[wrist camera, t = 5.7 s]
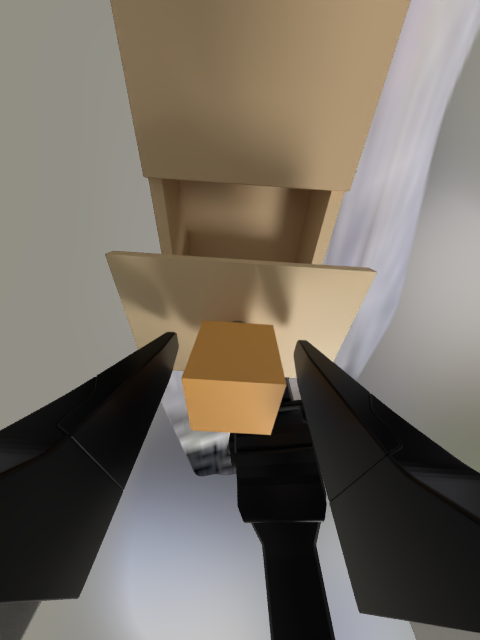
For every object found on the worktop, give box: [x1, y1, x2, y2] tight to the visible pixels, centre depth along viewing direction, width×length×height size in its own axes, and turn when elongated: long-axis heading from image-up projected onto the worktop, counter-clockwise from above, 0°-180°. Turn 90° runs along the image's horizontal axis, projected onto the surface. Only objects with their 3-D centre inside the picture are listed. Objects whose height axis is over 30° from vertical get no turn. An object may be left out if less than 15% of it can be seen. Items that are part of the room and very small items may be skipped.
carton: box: [110, 0, 411, 265], centre depth 13 cm, size 15×12×6 cm
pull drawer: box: [105, 251, 377, 435], centre depth 8 cm, size 7×12×5 cm, turn 87°
